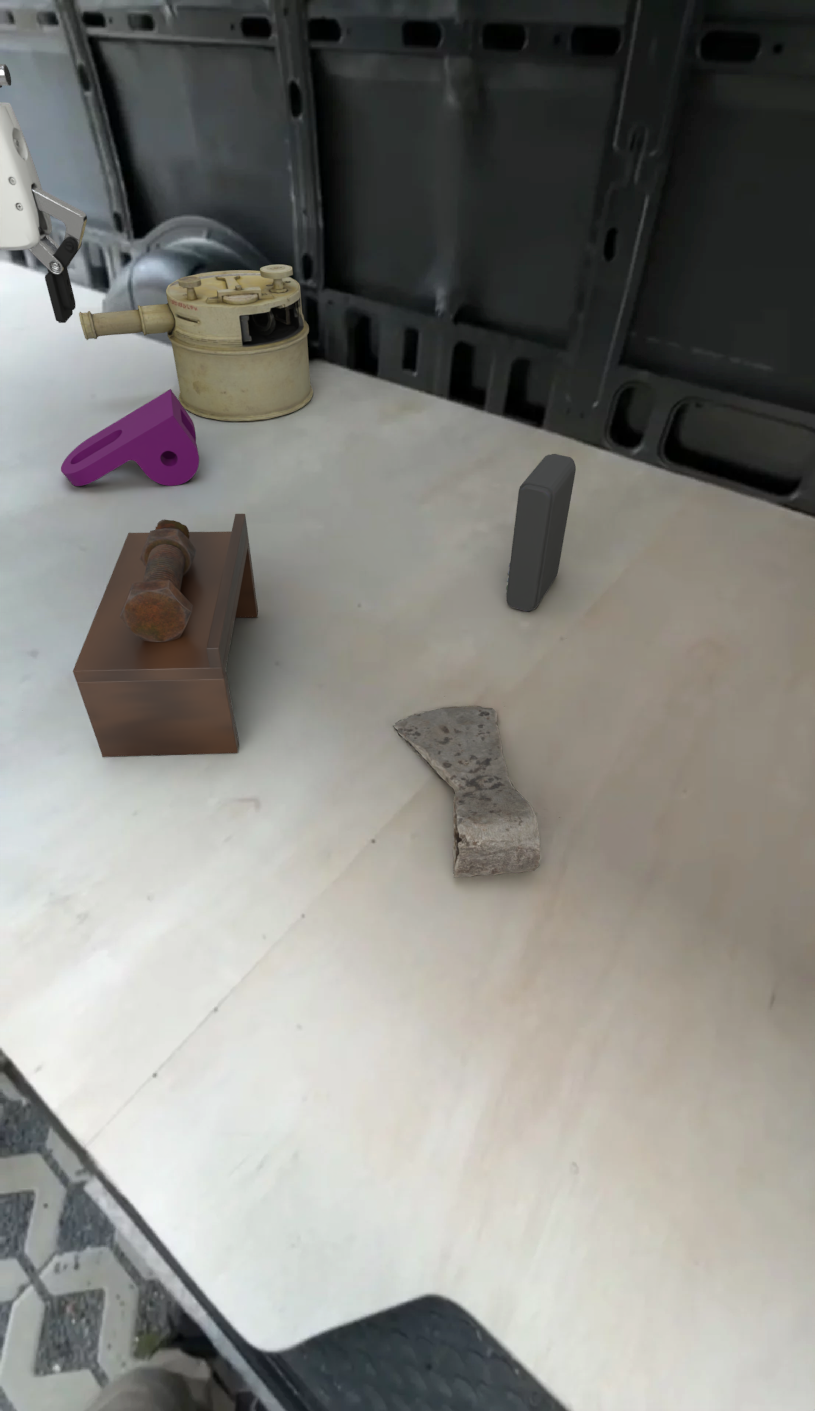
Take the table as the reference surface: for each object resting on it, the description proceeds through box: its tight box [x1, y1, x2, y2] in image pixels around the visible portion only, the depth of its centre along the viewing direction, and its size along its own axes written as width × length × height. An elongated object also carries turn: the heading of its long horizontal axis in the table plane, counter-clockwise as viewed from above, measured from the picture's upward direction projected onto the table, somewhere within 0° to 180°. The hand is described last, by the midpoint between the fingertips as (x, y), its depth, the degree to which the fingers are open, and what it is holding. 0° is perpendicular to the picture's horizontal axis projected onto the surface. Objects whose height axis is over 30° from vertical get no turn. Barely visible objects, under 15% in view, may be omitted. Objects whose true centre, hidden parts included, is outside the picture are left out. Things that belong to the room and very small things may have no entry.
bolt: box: [120, 518, 196, 642], centre depth 71 cm, size 6×5×15 cm
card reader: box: [505, 453, 577, 612], centre depth 86 cm, size 9×4×15 cm, turn 154°
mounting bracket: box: [60, 388, 200, 487], centre depth 110 cm, size 10×8×18 cm
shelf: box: [72, 513, 259, 758], centre depth 75 cm, size 12×22×12 cm, turn 3°
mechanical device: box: [78, 263, 314, 422], centre depth 125 cm, size 22×34×20 cm, turn 109°
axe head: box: [393, 705, 541, 878], centre depth 68 cm, size 21×5×10 cm
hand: (11, 318), depth 73 cm, fingers open, 9 cm apart
